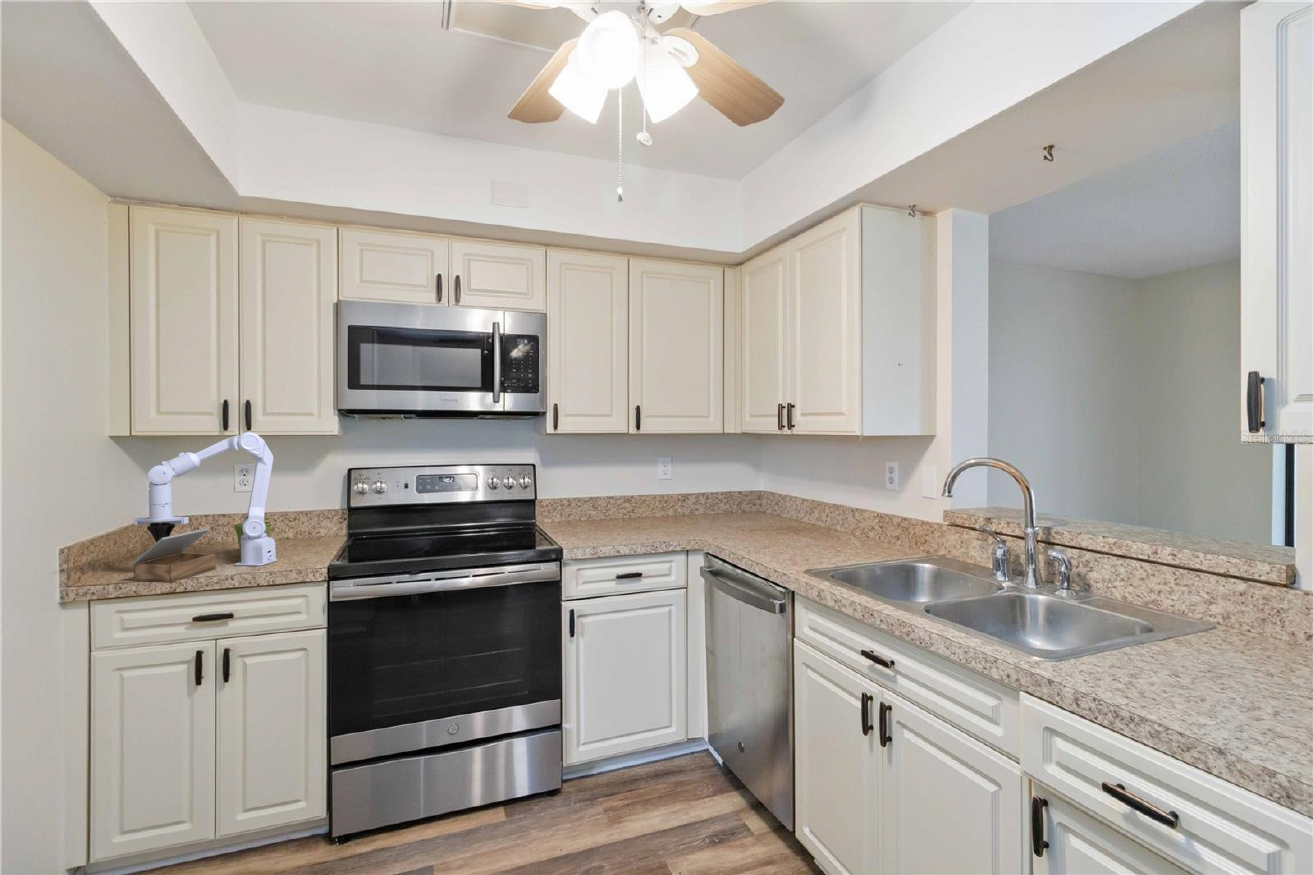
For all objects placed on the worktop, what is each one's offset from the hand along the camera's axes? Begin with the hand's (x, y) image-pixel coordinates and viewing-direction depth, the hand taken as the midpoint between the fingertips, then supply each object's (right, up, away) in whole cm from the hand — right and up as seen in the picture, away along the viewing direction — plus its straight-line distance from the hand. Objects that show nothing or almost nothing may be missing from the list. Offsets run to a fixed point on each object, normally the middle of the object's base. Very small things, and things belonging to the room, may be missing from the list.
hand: (161, 547), depth 187 cm
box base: (+6, -8, -1) cm, 10 cm away
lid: (+5, +1, -1) cm, 5 cm away
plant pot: (+10, -8, +27) cm, 30 cm away
